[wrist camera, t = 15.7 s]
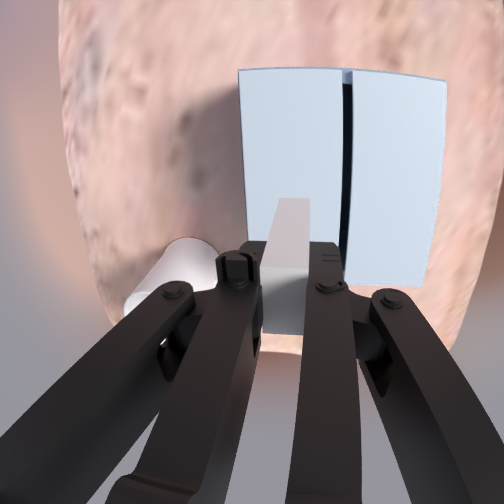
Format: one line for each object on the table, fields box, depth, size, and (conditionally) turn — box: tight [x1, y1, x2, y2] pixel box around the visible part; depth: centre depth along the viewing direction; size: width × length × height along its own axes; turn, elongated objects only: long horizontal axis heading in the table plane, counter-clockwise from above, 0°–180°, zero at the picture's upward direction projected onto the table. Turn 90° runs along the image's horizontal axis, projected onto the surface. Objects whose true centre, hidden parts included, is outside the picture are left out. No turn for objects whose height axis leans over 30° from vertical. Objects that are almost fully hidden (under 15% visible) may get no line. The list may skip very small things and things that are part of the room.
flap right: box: [344, 71, 446, 287], centre depth 23 cm, size 7×18×1 cm, turn 2°
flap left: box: [239, 69, 343, 246], centre depth 24 cm, size 7×18×1 cm, turn 3°
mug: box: [123, 238, 219, 345], centre depth 37 cm, size 12×8×12 cm
